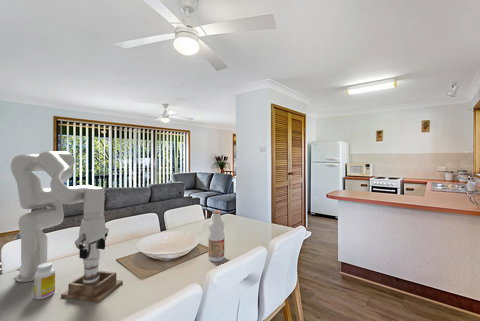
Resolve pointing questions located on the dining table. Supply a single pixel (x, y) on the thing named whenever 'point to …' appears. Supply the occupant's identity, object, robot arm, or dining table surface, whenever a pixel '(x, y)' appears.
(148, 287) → the dining table surface
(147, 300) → the dining table surface
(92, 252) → the plastic bottle
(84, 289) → the walnut caddy
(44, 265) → the supplement bottle
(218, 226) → the fruit juice
